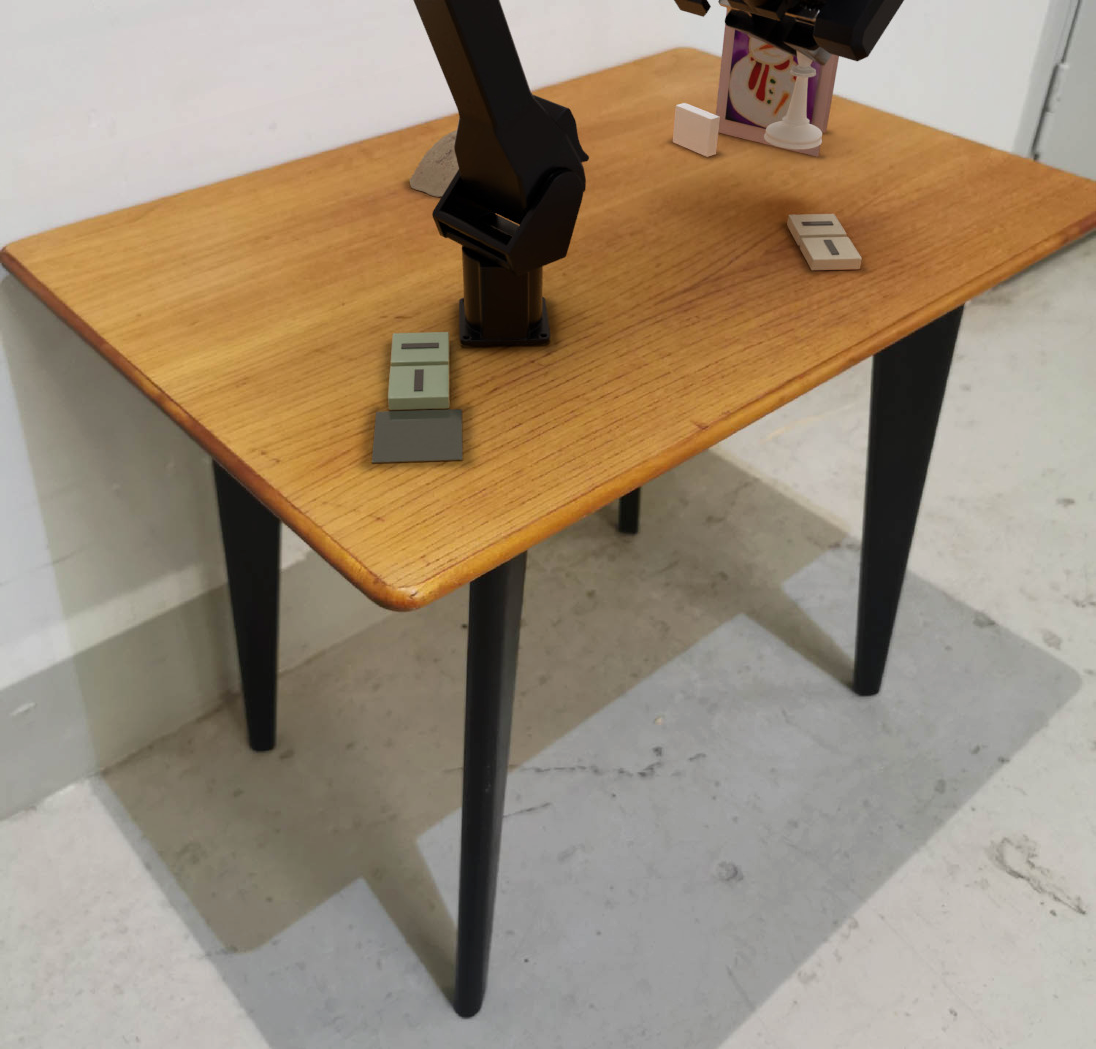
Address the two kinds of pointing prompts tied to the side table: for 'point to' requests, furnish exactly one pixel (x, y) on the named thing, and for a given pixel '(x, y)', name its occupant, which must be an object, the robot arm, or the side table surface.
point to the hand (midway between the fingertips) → (815, 57)
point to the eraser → (696, 129)
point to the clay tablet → (436, 167)
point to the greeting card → (766, 88)
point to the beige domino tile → (823, 242)
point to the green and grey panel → (418, 403)
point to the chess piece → (796, 114)
